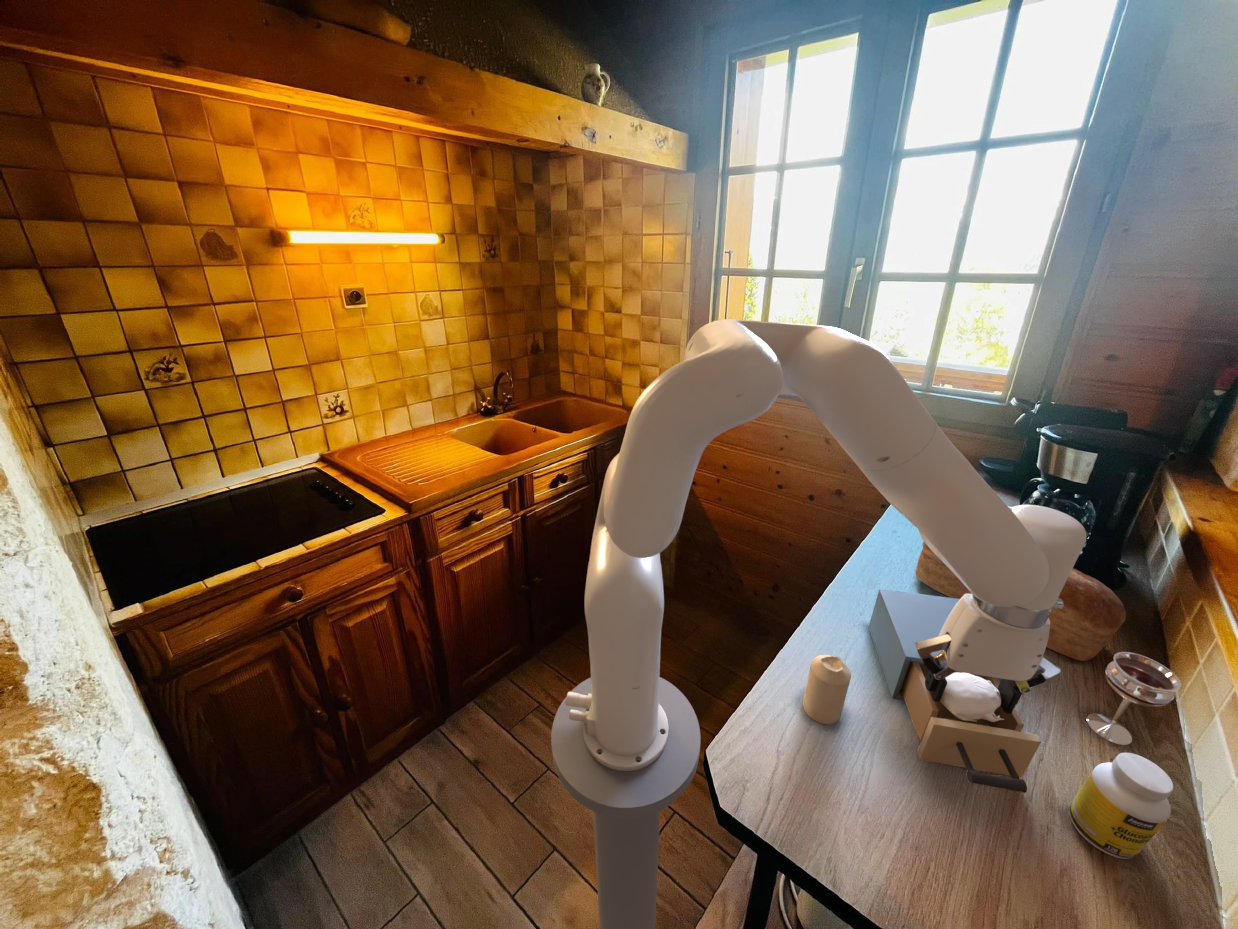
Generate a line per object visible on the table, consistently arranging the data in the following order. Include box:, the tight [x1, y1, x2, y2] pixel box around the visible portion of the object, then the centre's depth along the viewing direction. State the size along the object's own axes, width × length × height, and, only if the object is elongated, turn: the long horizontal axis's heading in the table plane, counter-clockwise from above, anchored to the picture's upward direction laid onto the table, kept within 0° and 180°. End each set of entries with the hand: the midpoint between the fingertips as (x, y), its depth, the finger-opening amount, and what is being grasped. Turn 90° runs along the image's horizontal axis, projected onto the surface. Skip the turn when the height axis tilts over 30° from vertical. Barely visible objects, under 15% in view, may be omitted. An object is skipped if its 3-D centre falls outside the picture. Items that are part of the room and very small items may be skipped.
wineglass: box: [1086, 651, 1182, 746], centre depth 70 cm, size 7×7×12 cm
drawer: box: [901, 661, 1042, 794], centre depth 69 cm, size 20×12×7 cm, turn 168°
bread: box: [915, 541, 1127, 662], centre depth 92 cm, size 12×31×14 cm, turn 35°
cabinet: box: [868, 589, 1001, 701], centre depth 81 cm, size 16×14×9 cm
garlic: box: [940, 672, 1004, 722], centre depth 68 cm, size 8×7×4 cm
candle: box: [802, 654, 852, 725], centre depth 74 cm, size 6×6×10 cm
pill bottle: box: [1068, 752, 1175, 860], centre depth 58 cm, size 6×6×12 cm
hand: (967, 698), depth 68 cm, fingers closed on garlic, 8 cm apart
